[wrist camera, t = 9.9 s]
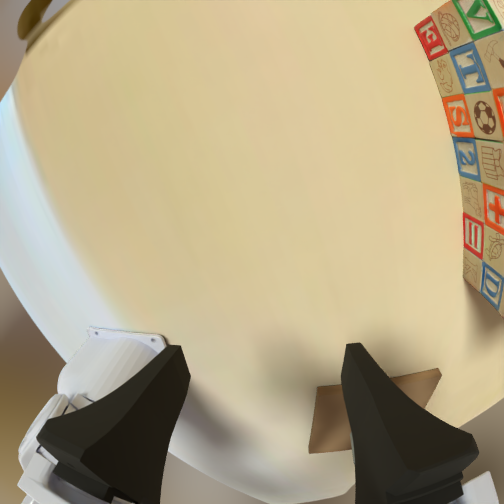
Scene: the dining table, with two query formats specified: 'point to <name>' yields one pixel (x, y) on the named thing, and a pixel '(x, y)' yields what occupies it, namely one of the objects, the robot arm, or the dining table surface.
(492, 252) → the stack of blocks
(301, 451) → the dining table surface
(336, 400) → the walnut board
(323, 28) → the dining table surface
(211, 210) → the dining table surface
